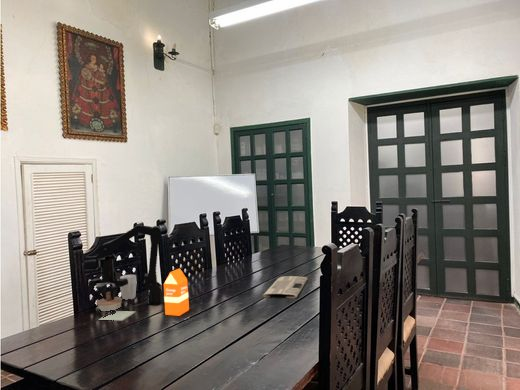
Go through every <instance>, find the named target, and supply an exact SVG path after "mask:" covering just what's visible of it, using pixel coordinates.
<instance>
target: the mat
mask: <svg viewBox="0 0 520 390" xmlns="http://www.w3.org/2000/svg"><path fill="white" fill-rule="evenodd" d="M115 311H116V313H115V314H113V315H112V314H111V315H108V316H106V317H104V316H102V317H100V318H99V319H98V320H112V321H111V322H123V321H125V320H126V319H128V318H129V317H131V316H132V315H133V314H135V313H136V311H135V310H134V311H133V310H132V311H131V310H130V311H128V310H126V311H125V310H115ZM103 317H104V318H103ZM113 320H114V321H113Z"/></svg>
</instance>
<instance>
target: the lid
mask: <svg viewBox="0 0 520 390" xmlns="http://www.w3.org/2000/svg"><path fill="white" fill-rule="evenodd" d="M122 300H123V299H122V296H121V297H120V296H115V298H114V300H112V297H111V291H106V300H104V298H103V297H102V298H101V299H98V300H97V301H96V305H97V306H98V305H112V304H116V303H119V302H121V303H122V302H123V301H122Z"/></svg>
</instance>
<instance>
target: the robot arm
mask: <svg viewBox="0 0 520 390" xmlns="http://www.w3.org/2000/svg"><path fill="white" fill-rule="evenodd" d="M162 232H163V231H162V228H161V227H160V226H158V225H154V226H148V225H142V224H137V225H135V226H134V227H133V228H131V229H130V230H128V231H127V232H125V233H123V234H121V235H119V236H118V237H117V238H114V239H112V240H109V241H107V242H104V243H103V244H102V245H100V247H99V250H98V251H99V253H98V254H96V255H94V256H88V255H87V256H85V257H84V264H83V269H84V271H85V272H87V271H97V270H98V269H99V268H100V271H99V274H100V275H101V278H93V279H91V280H89V281H88V286H87V287H92V288H93V287H95V289H97V291H98V292H99V294H100V295H101V296H102V299H103V298H104V300H106V292H107V286H108V285H112V286H110V287H109V290H110V291H109V292H111V297H112V300H114V298H115V297H116V294H117V291H118V288H120V287H122V286H125V285H127V284H128V280H127V279H126V278H125V279H120V277H121V276H122V275H121V274H122V273H121V272H117V271H116V269H114V260H116V259H118V257H117V256H116V255H115V254H114V253H113V252H115V250H116V249H117V248H118V247H120V245H123V244H124V243H126V242H127V241H128V240H130V239H132V238H134V237H135V236H137V235H138V234H142V235H146V236H149V237H150V252H149V253H150V254H149V262H148V263H149V265H148V273H144V281H143V284H144V287H145V288H146V290H148V291H149V292H148V294H147V299H148V303H147V305H149V306H161V305H162V304H163V303H165V300H164V289H163V290H162V284H161V283H160V282H158V276H157V263H158V262H157V261H158V251H159V245H160V244H159V243H160V241H161V240H160V239H161V237H162ZM111 253H112V255H110V254H111Z"/></svg>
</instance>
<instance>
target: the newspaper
mask: <svg viewBox="0 0 520 390" xmlns="http://www.w3.org/2000/svg"><path fill="white" fill-rule="evenodd" d="M307 281H308V277H306V276H297V275H296V276H295V275H294V276H293V275H289V276H288V275H287V276H280V277H278V278H277V279H276V280H275V281H274V282H273V284H271V286H270V287H268V289H267V290H266V291H265V292H264V293H263V294H262V297H263V298H264V299H265V298H270V297H271V296H272V295H286V296H285V298H286V299H297V297H298V296H299V294H301V293H300V292H301V291H302V290H303V288H304V286H305V285H306V283H307Z"/></svg>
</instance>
